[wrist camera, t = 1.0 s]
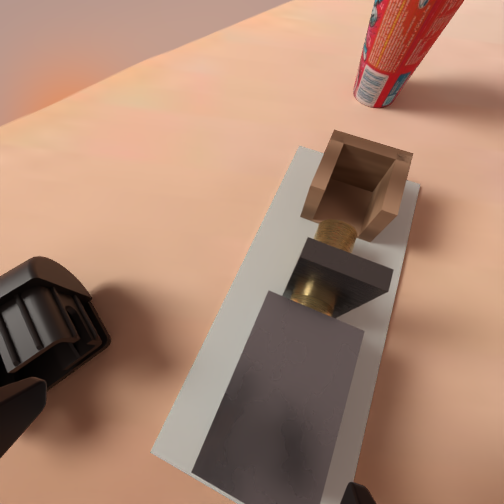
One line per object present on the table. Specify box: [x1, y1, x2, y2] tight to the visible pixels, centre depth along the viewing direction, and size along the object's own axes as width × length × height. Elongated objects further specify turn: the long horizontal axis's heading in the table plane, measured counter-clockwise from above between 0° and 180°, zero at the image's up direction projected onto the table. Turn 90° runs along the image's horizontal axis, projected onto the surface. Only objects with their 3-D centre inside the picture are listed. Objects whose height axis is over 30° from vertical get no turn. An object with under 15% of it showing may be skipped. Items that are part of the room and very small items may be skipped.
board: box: [150, 146, 420, 504], centre depth 22 cm, size 30×13×1 cm, turn 156°
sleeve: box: [191, 290, 365, 504], centre depth 17 cm, size 10×6×5 cm, turn 156°
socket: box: [300, 130, 413, 242], centre depth 23 cm, size 6×7×5 cm
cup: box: [353, 0, 464, 108], centre depth 26 cm, size 9×8×12 cm
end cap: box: [0, 256, 111, 391], centre depth 17 cm, size 10×7×7 cm
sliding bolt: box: [282, 219, 394, 318], centre depth 16 cm, size 17×4×9 cm, turn 156°
